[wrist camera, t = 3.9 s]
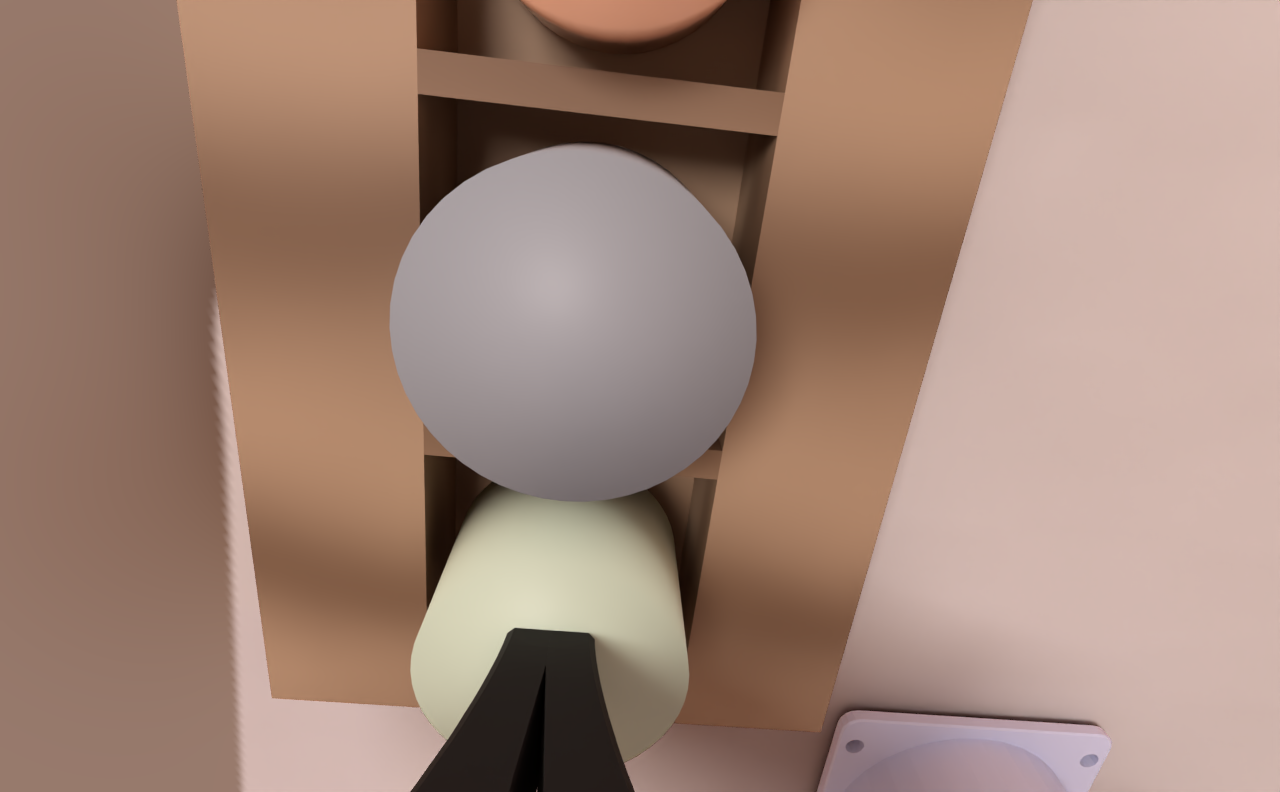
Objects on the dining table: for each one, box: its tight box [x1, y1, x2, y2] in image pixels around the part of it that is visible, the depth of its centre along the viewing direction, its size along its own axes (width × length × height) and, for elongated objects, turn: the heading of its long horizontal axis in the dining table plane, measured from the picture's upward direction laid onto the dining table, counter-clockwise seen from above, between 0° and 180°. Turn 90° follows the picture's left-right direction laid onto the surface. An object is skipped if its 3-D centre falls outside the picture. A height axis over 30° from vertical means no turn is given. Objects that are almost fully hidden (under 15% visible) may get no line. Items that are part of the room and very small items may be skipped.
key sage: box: [410, 481, 689, 763], centre depth 13 cm, size 5×5×4 cm
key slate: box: [389, 141, 757, 502], centre depth 10 cm, size 5×5×4 cm
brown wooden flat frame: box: [177, 0, 1033, 732], centre depth 13 cm, size 19×12×3 cm, turn 174°
